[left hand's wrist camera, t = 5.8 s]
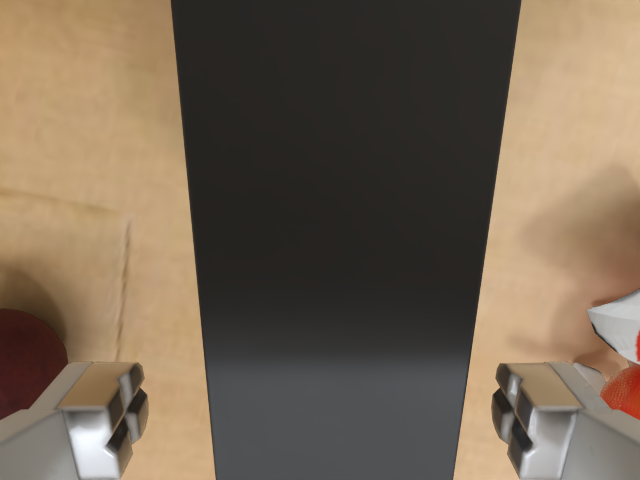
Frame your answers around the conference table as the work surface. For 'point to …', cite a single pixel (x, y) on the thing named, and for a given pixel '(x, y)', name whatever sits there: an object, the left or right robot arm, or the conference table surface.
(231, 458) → the box
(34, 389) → the potato
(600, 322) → the fish
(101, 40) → the conference table surface
